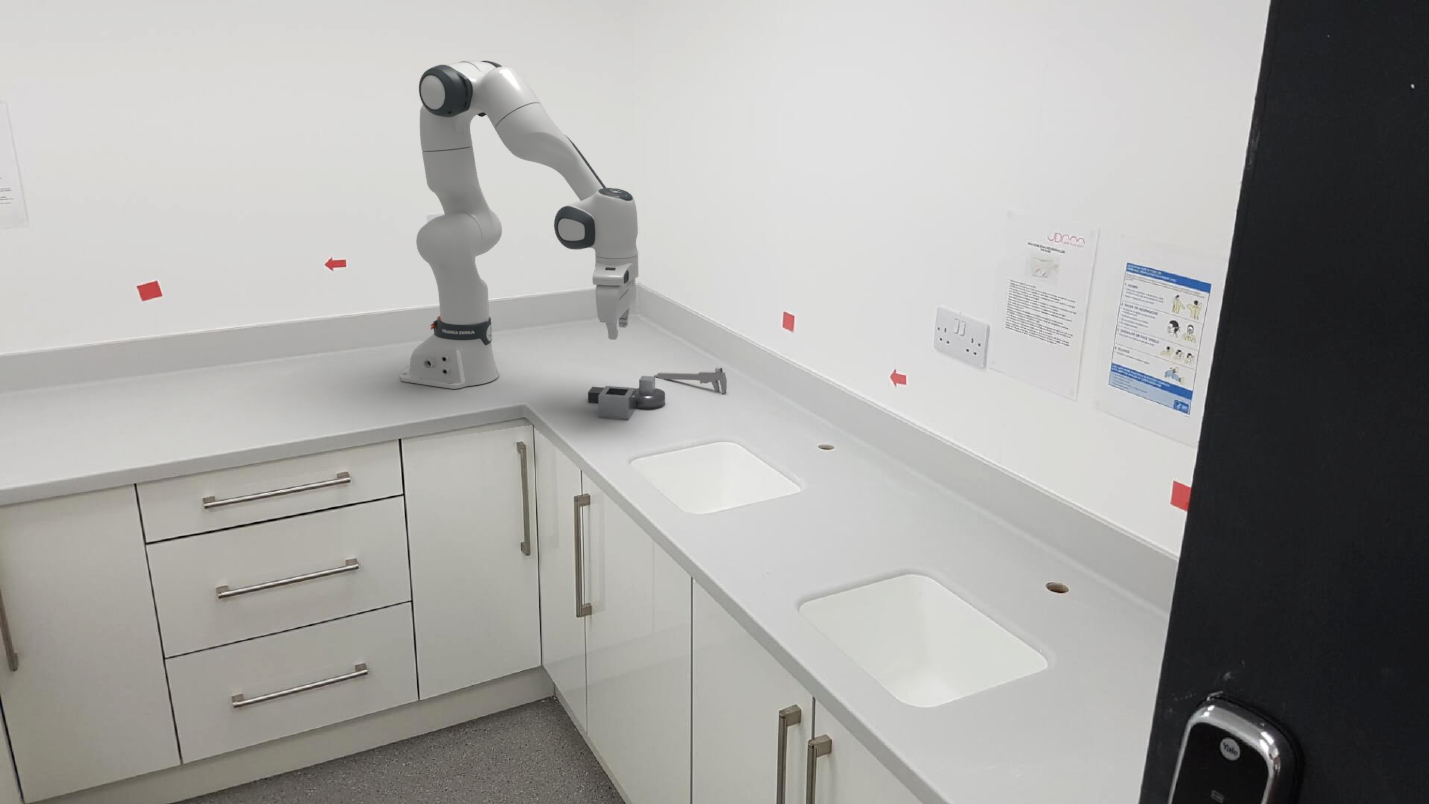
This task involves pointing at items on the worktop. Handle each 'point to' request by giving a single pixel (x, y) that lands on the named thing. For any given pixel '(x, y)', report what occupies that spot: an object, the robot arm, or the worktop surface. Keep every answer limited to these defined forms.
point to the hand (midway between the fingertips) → (618, 332)
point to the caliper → (700, 378)
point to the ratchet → (638, 394)
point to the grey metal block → (616, 402)
